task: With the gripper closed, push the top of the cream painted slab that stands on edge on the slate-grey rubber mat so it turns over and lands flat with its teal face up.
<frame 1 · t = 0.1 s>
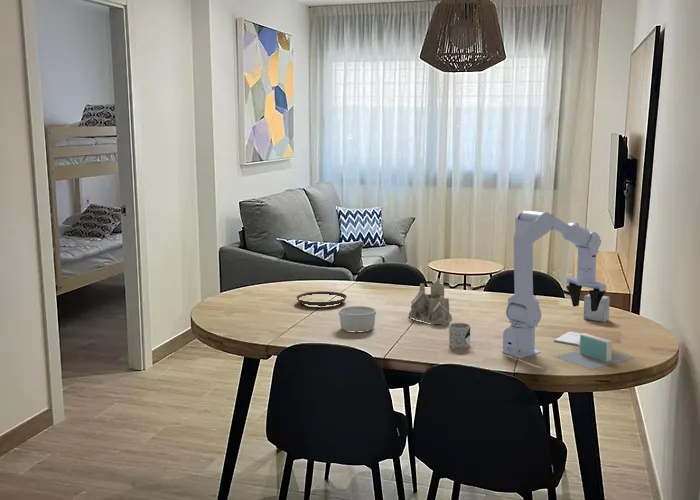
hand: (584, 308, 224), 10 cm above the table, fingers open, 7 cm apart
ceramic cottage: (429, 319, 253), on the table
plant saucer: (321, 304, 281), on the table
mat: (592, 358, 205), on the table
slab: (595, 356, 206), resting on mat
mug: (459, 344, 222), on the table
medicine box: (596, 320, 249), on the table
ramekin: (357, 329, 242), on the table
external hard drive: (573, 342, 224), on the table
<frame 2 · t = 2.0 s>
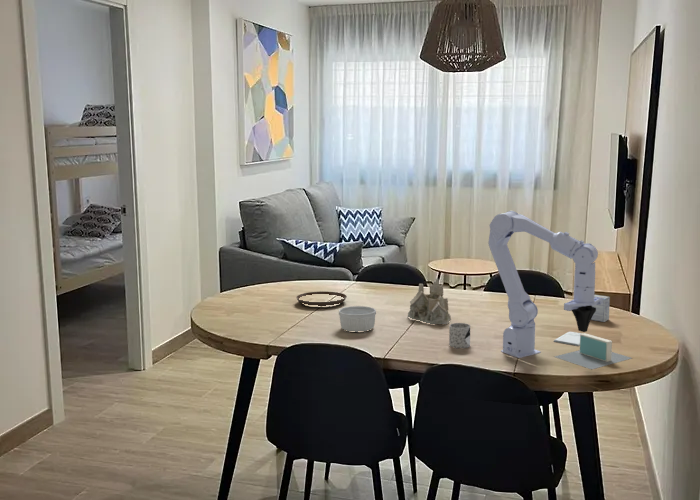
hand: (582, 331, 201), 9 cm above the table, fingers closed
nothing on the table moved.
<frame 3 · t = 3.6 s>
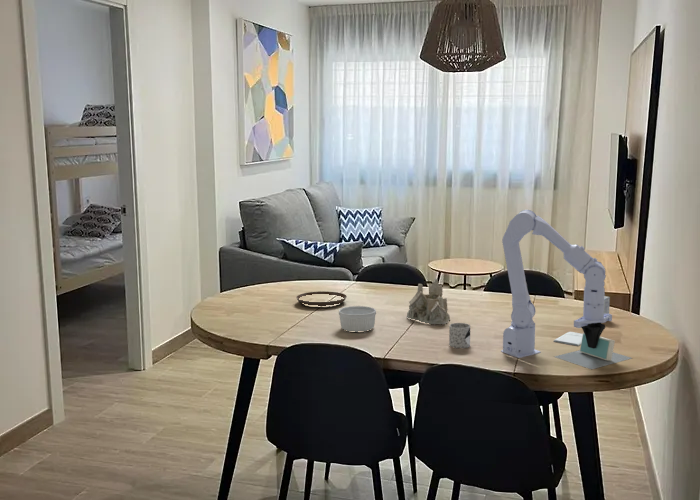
hand: (592, 347, 204), 4 cm above the table, fingers closed
slab: (595, 356, 206), point 1 cm above the table, tilted 12°, touching gripper, mat
everything else where it was.
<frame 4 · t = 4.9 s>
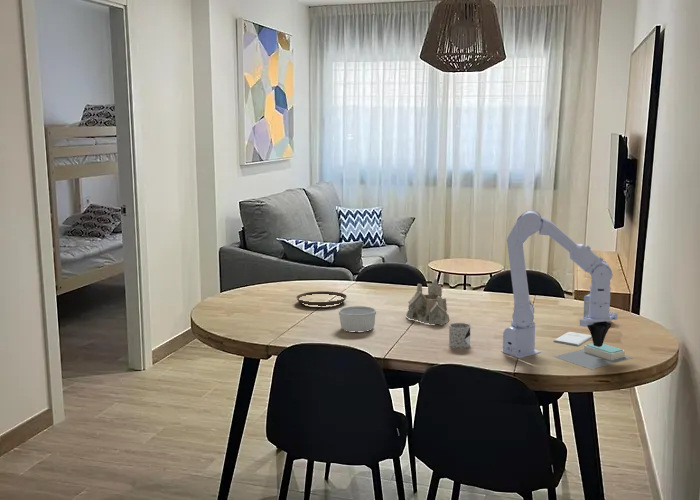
hand: (597, 345, 206), 4 cm above the table, fingers closed
slab: (597, 352, 206), point 1 cm above the table, tilted 90°, touching mat
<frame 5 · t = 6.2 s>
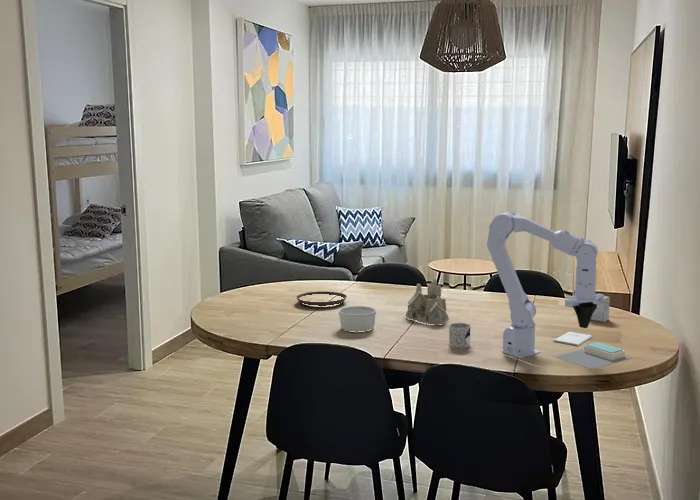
hand: (583, 327, 203), 10 cm above the table, fingers closed
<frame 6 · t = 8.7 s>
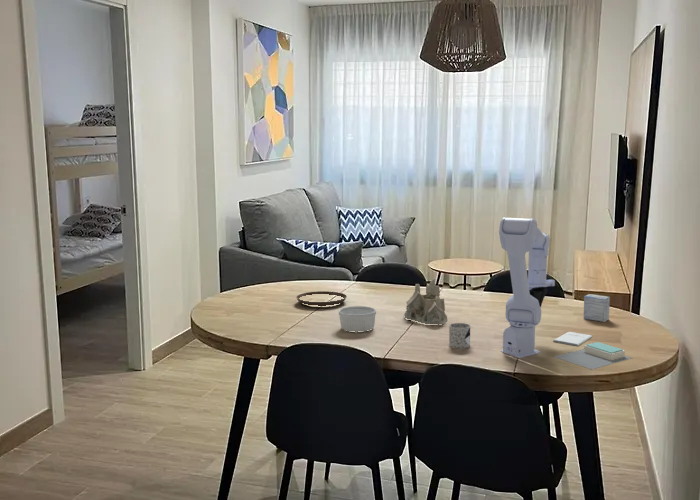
hand: (536, 309, 224), 10 cm above the table, fingers closed
at the end: slab tilted 90°; slab inside the target area on the mat (1.0 cm from its centre), point 1.4 cm above the mat's base; the gripper is holding nothing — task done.
